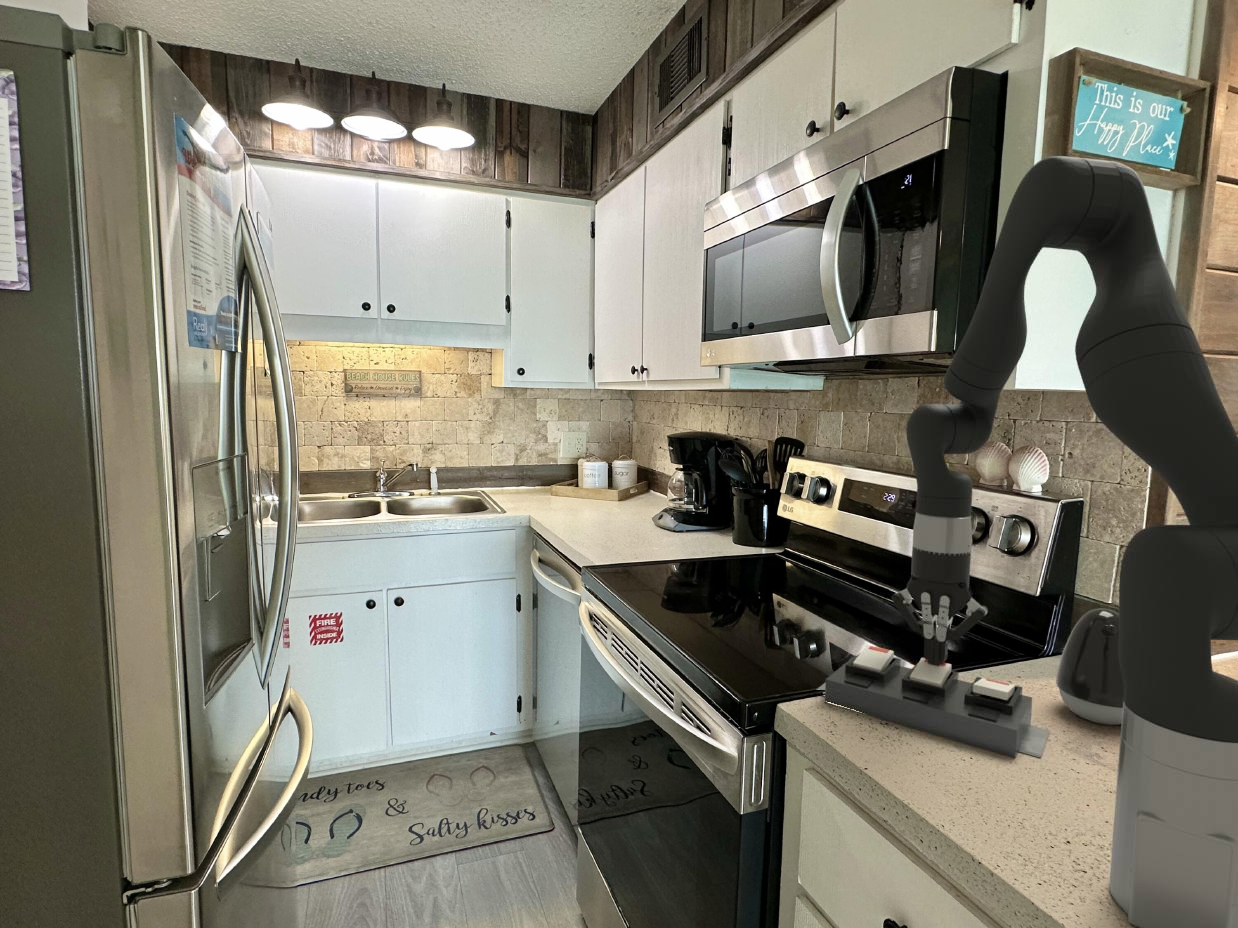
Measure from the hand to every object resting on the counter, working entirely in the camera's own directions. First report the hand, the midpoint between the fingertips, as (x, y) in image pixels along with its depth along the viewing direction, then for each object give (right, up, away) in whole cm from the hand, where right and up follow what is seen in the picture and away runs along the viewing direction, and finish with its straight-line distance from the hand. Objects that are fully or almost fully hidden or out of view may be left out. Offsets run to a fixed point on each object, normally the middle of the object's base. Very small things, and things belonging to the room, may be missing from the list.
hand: (935, 663), depth 98 cm
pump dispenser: (+21, -6, -4) cm, 22 cm away
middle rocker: (-1, -1, -2) cm, 3 cm away
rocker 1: (-8, 0, +3) cm, 8 cm away
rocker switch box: (-3, -6, -3) cm, 7 cm away
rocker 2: (+5, -1, -7) cm, 8 cm away
